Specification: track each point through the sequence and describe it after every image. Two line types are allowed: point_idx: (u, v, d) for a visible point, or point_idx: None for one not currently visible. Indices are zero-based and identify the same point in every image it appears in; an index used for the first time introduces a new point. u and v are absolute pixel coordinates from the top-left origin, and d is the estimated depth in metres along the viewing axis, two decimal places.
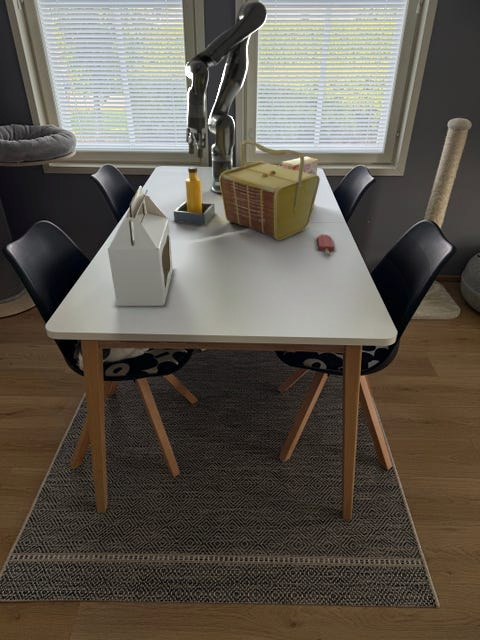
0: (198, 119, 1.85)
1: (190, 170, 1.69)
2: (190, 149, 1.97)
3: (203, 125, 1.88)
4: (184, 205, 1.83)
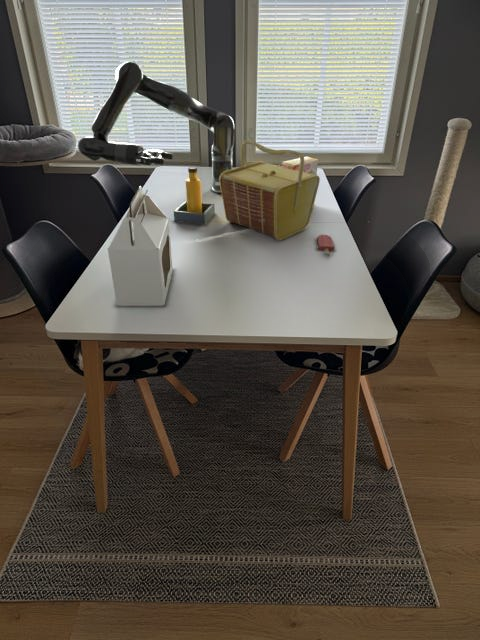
0: (127, 158, 1.71)
1: (190, 170, 1.69)
2: (167, 157, 1.75)
3: (133, 151, 1.70)
4: (184, 205, 1.83)
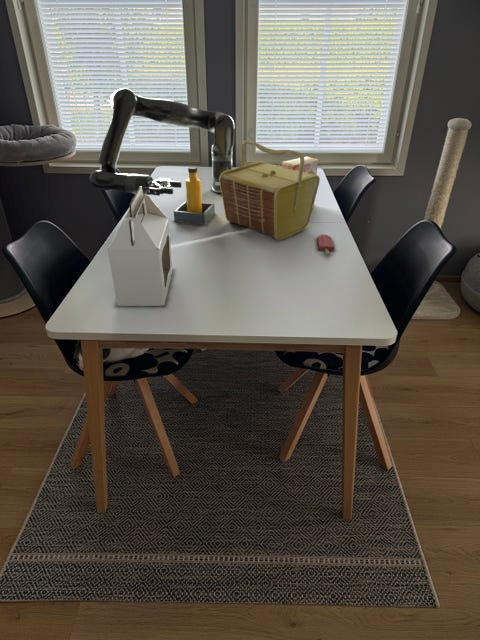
0: (137, 189, 1.77)
1: (190, 170, 1.69)
2: (176, 186, 1.80)
3: (142, 182, 1.75)
4: (184, 205, 1.83)
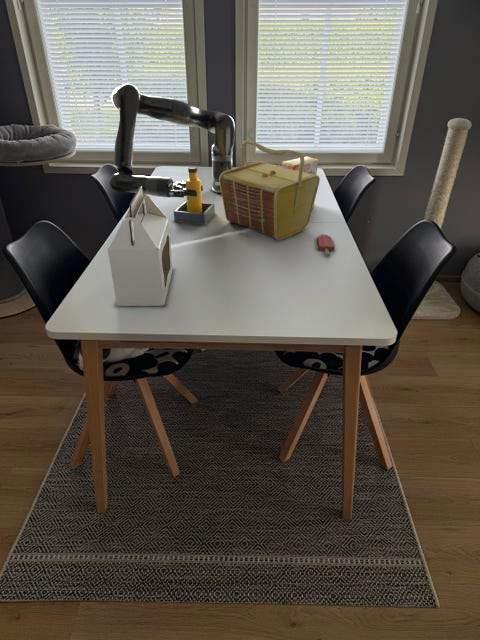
0: (158, 191, 1.75)
1: (190, 170, 1.69)
2: None
3: (163, 185, 1.74)
4: (184, 205, 1.83)
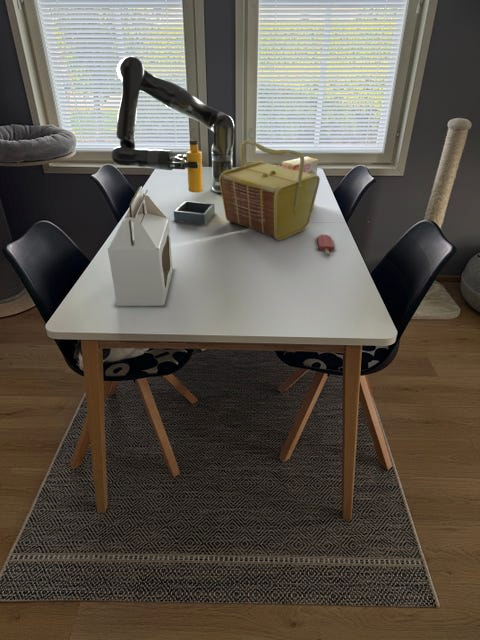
0: (159, 164, 1.78)
1: (191, 142, 1.72)
2: None
3: (165, 157, 1.76)
4: (184, 205, 1.83)
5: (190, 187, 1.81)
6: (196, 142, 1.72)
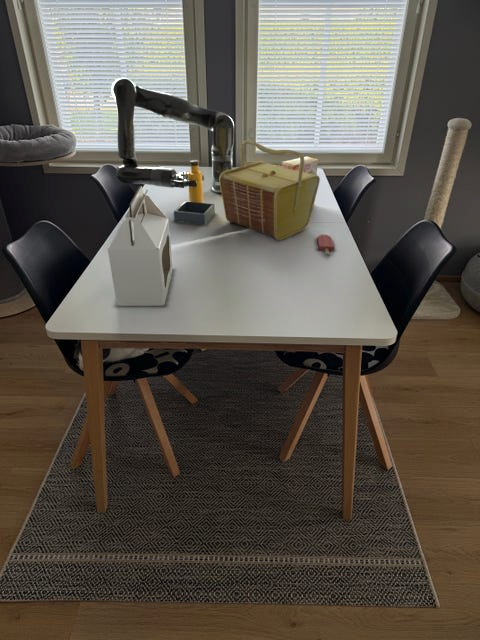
0: (162, 181, 1.85)
1: (192, 163, 1.79)
2: None
3: (167, 175, 1.83)
4: (184, 205, 1.83)
5: None
6: (197, 163, 1.80)
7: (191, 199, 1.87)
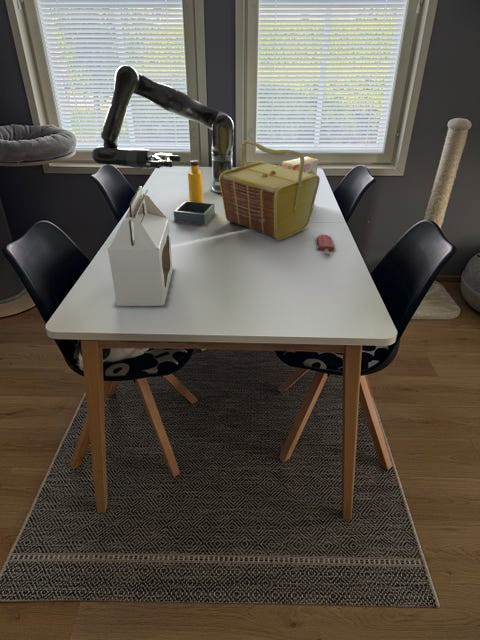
0: (138, 162, 1.83)
1: (192, 163, 1.79)
2: (175, 160, 1.86)
3: (143, 156, 1.82)
4: (184, 205, 1.83)
5: None
6: (197, 163, 1.80)
7: (191, 199, 1.87)
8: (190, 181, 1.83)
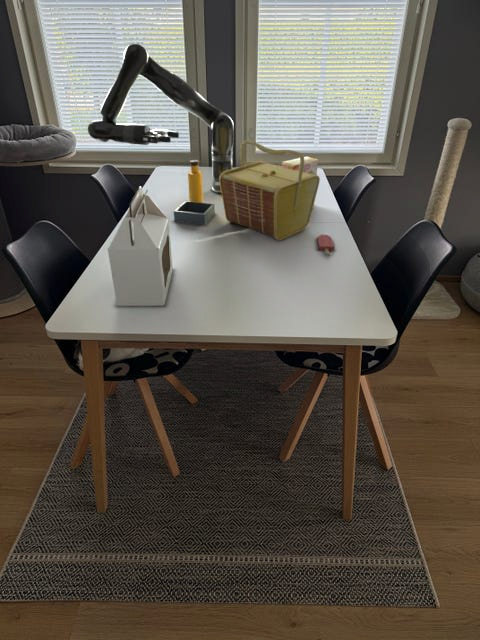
0: (135, 138, 1.78)
1: (192, 163, 1.79)
2: (173, 136, 1.81)
3: (140, 131, 1.76)
4: (184, 205, 1.83)
5: None
6: (197, 163, 1.80)
7: (191, 199, 1.87)
8: (190, 181, 1.83)
